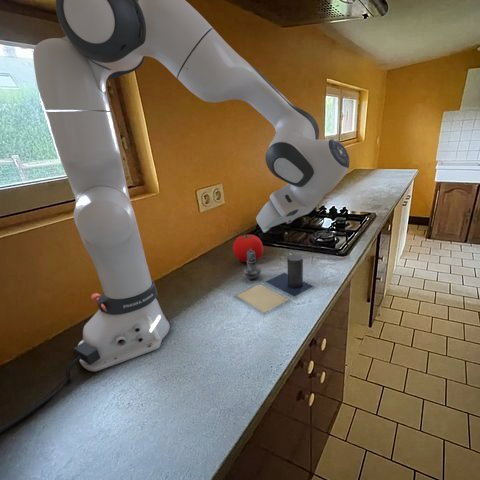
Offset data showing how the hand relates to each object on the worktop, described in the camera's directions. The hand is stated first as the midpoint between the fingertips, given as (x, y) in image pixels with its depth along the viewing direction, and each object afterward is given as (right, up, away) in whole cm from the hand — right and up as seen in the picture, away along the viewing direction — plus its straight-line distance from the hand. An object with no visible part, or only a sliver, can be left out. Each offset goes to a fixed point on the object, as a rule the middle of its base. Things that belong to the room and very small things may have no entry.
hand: (275, 225), depth 88 cm
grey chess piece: (-8, -16, +18) cm, 26 cm away
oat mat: (-4, -22, +7) cm, 23 cm away
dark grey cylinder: (+7, -18, +13) cm, 23 cm away
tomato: (-11, -9, +33) cm, 36 cm away
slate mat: (+5, -18, +14) cm, 23 cm away
